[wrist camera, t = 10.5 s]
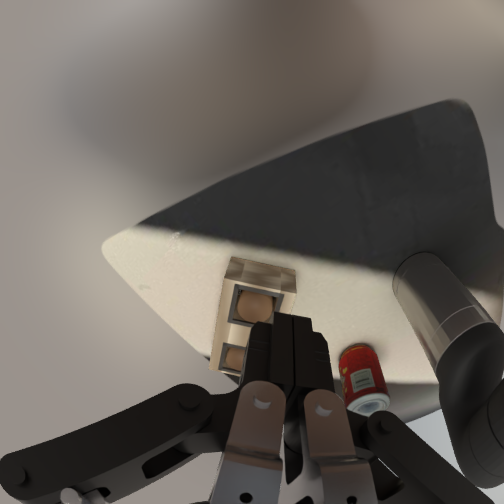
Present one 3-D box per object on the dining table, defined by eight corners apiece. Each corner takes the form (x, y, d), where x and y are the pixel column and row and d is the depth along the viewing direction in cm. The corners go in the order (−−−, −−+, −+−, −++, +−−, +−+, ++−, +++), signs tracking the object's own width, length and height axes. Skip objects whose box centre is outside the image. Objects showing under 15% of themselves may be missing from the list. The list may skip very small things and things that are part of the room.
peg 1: (261, 329, 45) (258, 354, 40) (255, 348, 47) (252, 373, 41) (234, 323, 45) (228, 348, 40) (229, 342, 47) (224, 367, 41)
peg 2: (276, 275, 41) (275, 298, 35) (269, 301, 42) (267, 325, 37) (245, 269, 41) (240, 291, 35) (240, 294, 42) (234, 318, 37)
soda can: (330, 353, 46) (339, 410, 35) (367, 335, 44) (384, 390, 33) (346, 374, 48) (355, 427, 37) (380, 357, 46) (396, 410, 35)
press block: (294, 270, 40) (296, 294, 35) (267, 354, 48) (265, 381, 42) (231, 256, 40) (223, 278, 35) (215, 344, 47) (208, 369, 42)
